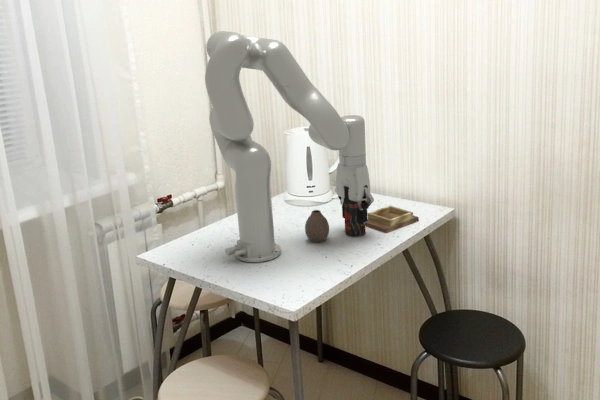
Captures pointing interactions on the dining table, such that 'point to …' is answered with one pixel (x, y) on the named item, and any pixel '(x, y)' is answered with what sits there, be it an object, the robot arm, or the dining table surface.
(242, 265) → the dining table surface
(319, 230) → the vase
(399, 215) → the holder board
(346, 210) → the deodorant
